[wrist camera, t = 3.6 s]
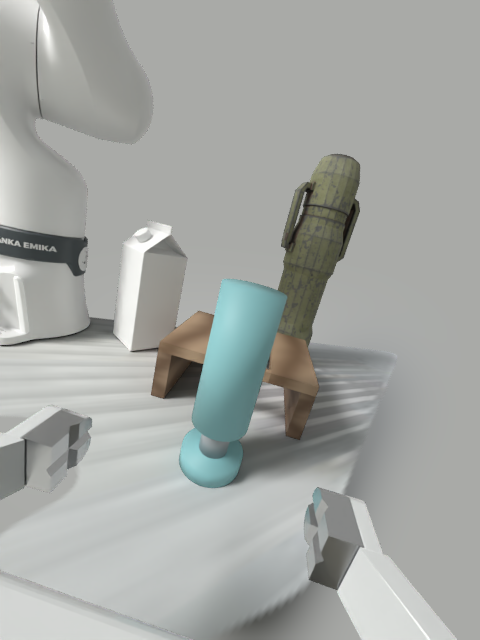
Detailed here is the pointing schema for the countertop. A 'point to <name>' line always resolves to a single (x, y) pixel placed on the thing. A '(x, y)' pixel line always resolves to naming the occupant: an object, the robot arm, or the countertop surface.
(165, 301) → the milk carton
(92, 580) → the countertop surface
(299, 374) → the keyhole bridge
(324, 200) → the thermos
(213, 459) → the teal necked cylinder
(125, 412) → the countertop surface
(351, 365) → the countertop surface
